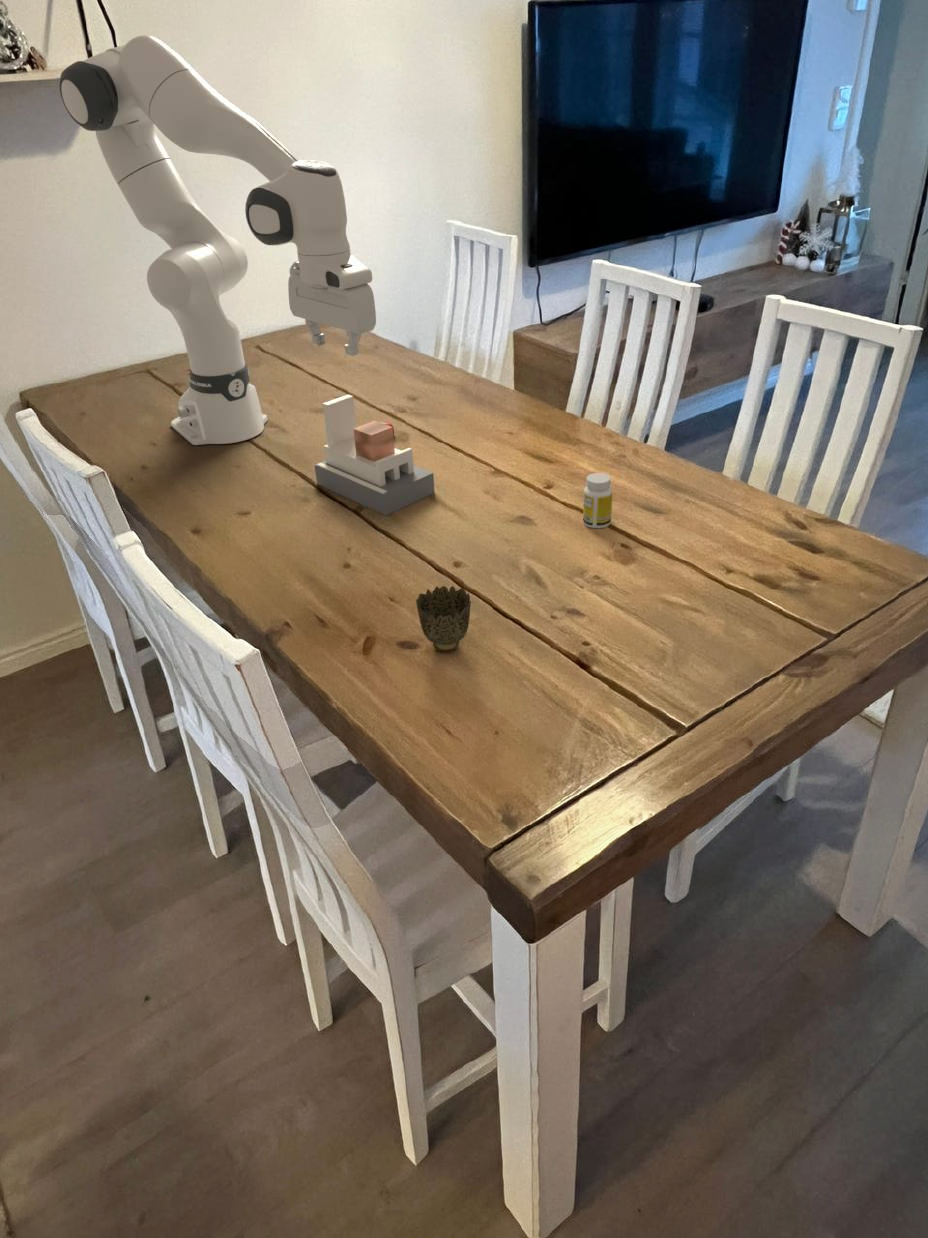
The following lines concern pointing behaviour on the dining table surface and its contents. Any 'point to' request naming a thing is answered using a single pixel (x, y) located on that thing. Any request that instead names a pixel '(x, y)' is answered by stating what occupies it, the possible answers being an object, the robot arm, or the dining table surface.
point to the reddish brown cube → (374, 440)
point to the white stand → (344, 452)
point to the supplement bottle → (597, 501)
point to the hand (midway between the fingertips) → (335, 349)
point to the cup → (444, 616)
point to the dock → (377, 487)
